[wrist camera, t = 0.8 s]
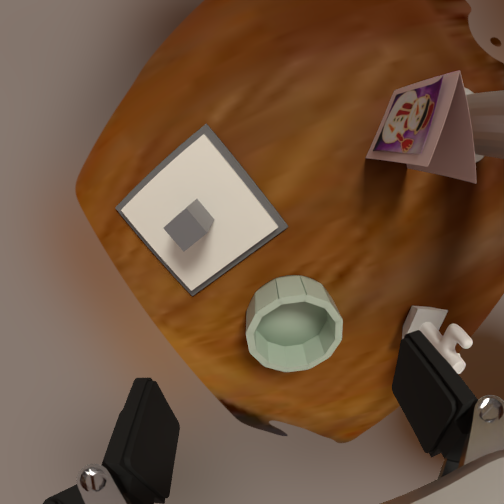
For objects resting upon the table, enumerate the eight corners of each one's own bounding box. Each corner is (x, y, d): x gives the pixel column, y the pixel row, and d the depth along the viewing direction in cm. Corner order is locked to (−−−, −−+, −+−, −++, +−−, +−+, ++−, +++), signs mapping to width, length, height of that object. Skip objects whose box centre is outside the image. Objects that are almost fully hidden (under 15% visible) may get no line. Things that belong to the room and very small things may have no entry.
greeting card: (389, 87, 30) (453, 64, 16) (428, 115, 31) (498, 110, 17) (360, 155, 34) (420, 161, 20) (401, 180, 35) (469, 201, 21)
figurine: (391, 338, 44) (426, 396, 30) (410, 291, 41) (458, 344, 27) (420, 338, 45) (457, 390, 31) (440, 294, 41) (487, 342, 27)
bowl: (302, 257, 39) (310, 276, 33) (346, 317, 43) (357, 340, 37) (230, 307, 42) (227, 330, 36) (279, 358, 45) (282, 383, 40)
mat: (206, 124, 33) (206, 123, 32) (287, 225, 37) (288, 226, 37) (116, 207, 36) (115, 207, 36) (193, 294, 41) (192, 296, 41)
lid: (204, 134, 33) (193, 130, 26) (277, 225, 37) (283, 242, 30) (123, 208, 36) (99, 221, 29) (192, 287, 40) (182, 313, 34)
